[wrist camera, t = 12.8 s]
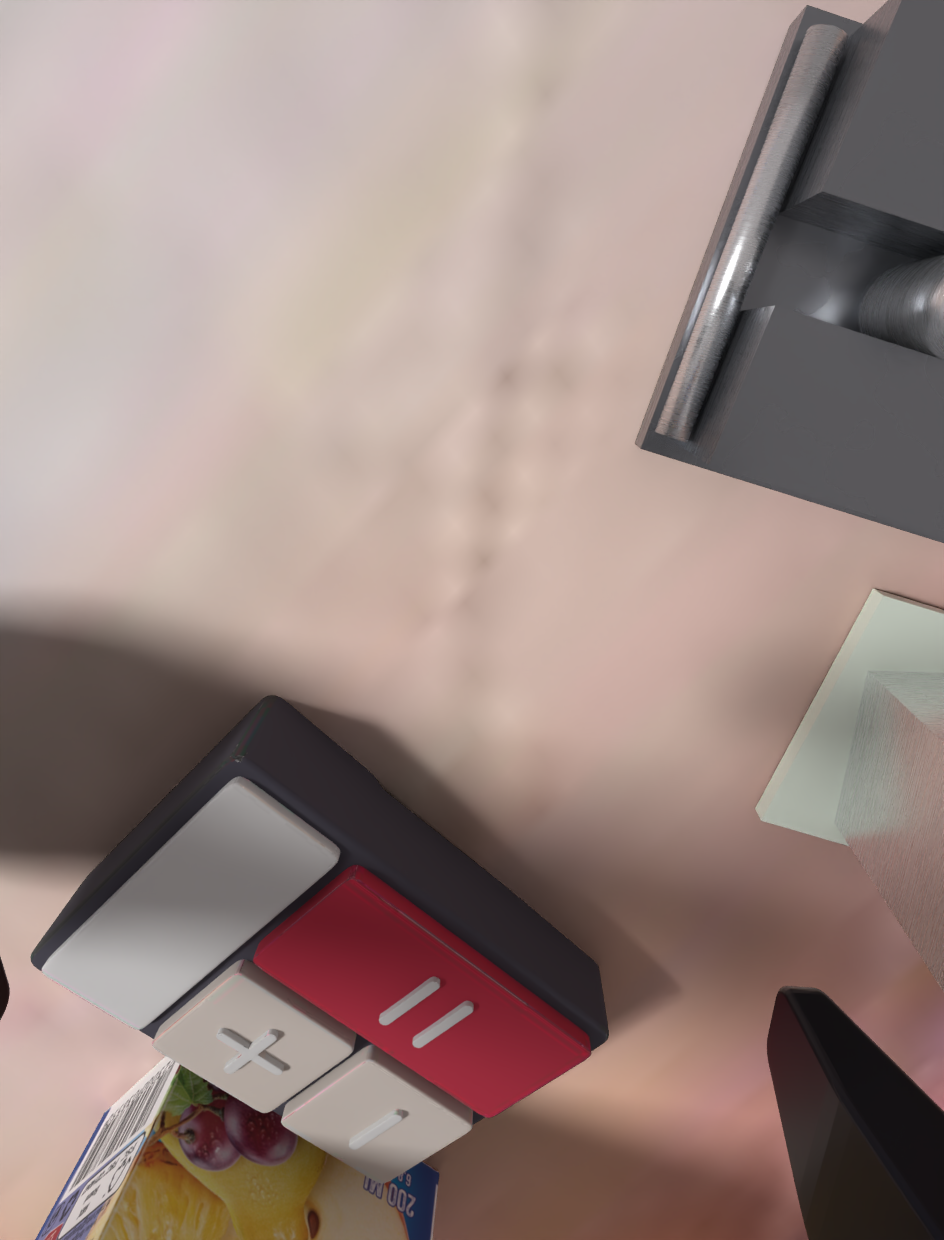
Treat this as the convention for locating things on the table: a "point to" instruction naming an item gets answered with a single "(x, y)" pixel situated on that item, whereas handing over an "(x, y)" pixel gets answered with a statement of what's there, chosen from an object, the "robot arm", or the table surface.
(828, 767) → the pad
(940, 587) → the table surface
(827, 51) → the vise
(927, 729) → the grey stepped block
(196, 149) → the table surface
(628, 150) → the table surface
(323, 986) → the calculator
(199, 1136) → the blue food box
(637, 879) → the table surface
